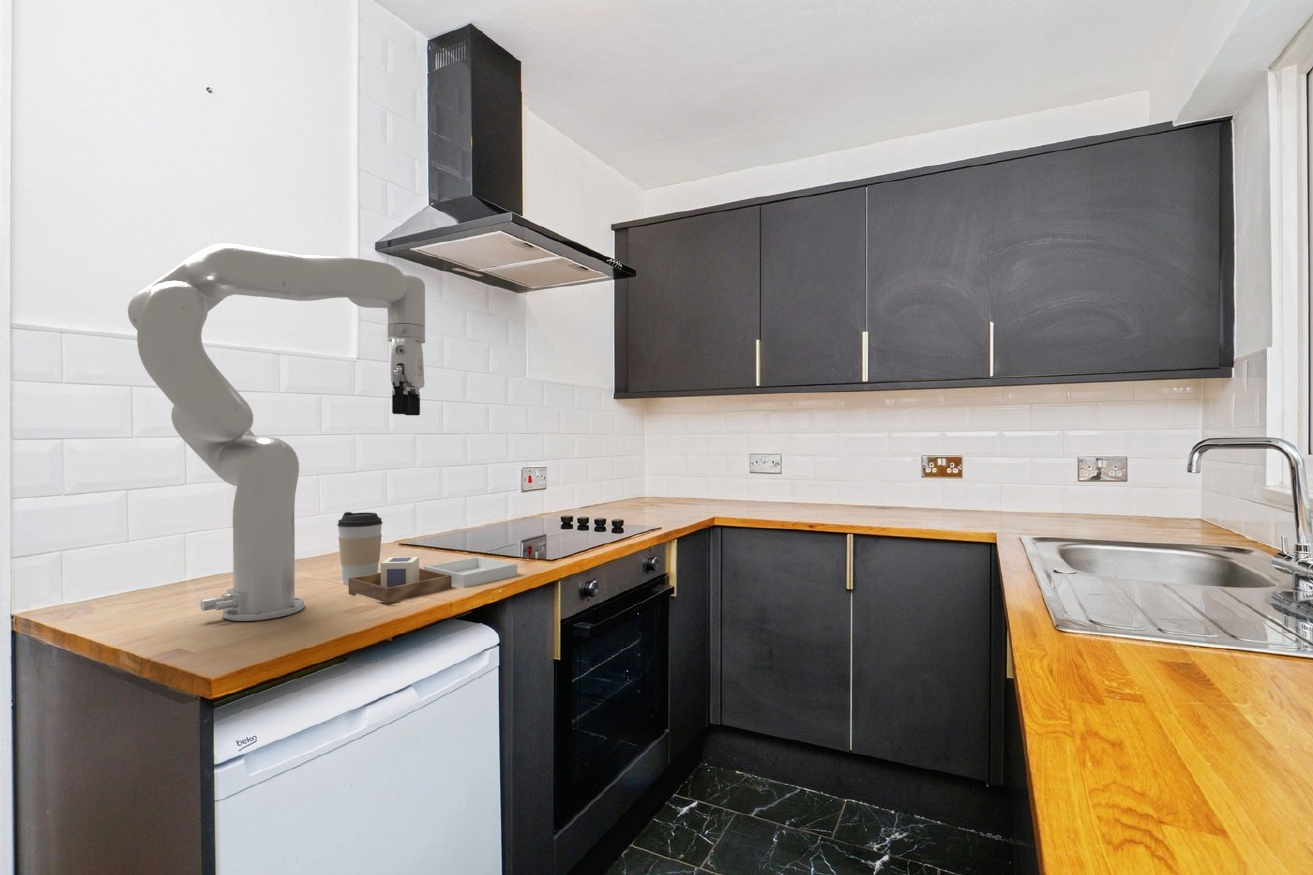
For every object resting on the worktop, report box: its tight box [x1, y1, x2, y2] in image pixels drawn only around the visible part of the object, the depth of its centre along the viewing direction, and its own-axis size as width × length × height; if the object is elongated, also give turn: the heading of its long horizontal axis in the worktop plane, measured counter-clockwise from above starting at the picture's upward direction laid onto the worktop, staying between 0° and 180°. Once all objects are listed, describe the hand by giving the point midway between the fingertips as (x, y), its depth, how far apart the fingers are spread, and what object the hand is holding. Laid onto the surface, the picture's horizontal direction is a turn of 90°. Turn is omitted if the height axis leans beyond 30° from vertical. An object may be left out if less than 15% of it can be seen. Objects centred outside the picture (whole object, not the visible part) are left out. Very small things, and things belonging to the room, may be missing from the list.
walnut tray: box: [348, 567, 453, 606], centre depth 131 cm, size 14×14×3 cm
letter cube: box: [380, 556, 420, 588], centre depth 131 cm, size 6×6×6 cm
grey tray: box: [423, 556, 518, 589], centre depth 143 cm, size 14×14×3 cm
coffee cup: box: [336, 511, 383, 586], centre depth 140 cm, size 9×9×15 cm
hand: (406, 414), depth 138 cm, fingers open, 9 cm apart
